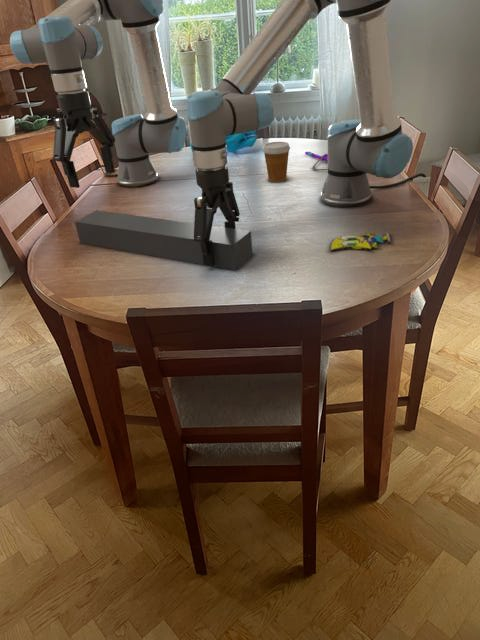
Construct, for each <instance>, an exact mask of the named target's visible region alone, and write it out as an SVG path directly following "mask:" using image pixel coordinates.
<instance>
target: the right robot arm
mask: <svg viewBox="0 0 480 640" xmlns="http://www.w3.org/2000/svg"><path fill="white" fill-rule="evenodd" d="M391 2H392V1H391V0H281V1H280V3H279V4H278V5H277V6H276V7H275V9H274V11H272V13H271V14H270V16H269V17H268V18H267V20H266V21H265V22H264V24H263V25H262V26H261V27H260V29H259V30H258V31H257V33H256V34H255V36H254V37H253V38H252V39H251V41H250V42H249V43H248V44H247V46H246V47H245V49H244V50H243V51H242V52H241V54H240V55H239V56H238V57H237V59H236V60H235V62H234V63H233V64H232V66H231V67H230V68H229V70H228V71H227V72H226V73H225V75H224V76H223V77H222V78H221V80H220V81H219V82H218V84H217V85H216V86H215V88H210V89H208V90H207V89H206V90H200V91H195V92H192V93H190V94H189V95H188V96H187V98H186V107H187V108H186V109H187V120H188V126H189V132H190V139H191V143H192V148H193V149H192V150H193V152H192V157H193V159H192V160H193V167H195V170H194V171H195V180H196V185H197V186H198V187H199V188H200V189H201V196H200V197H195V198H193V203H194V222H193V223H194V241H195V242H200V244H201V251H202V255H203V263H204V265H203V266H207V265H208V267H213V266H214V265H215V262H214V254H213V245H212V240H210V234H211V229H212V226H213V223H214V217H215V214H217V212H218V208H219V210H220V212H221V214H222V215H223V217H224V219H225V220H226V221H224V227H226V228H234V229H237V228H236V222H237V223H239V222H240V209H239V206H238V201H237V199H236V195H235V192H234V184H233V183H234V182H233V181H230V174H229V167H228V166H227V165H228V152H227V150H226V146H227V145H226V136H230V135H234V134H240V133H245V132H250V131H256V132H258V131H260V130H264V129H267V128H268V127H270V126H271V125H272V124H273V121H274V117H275V113H274V110H275V109H274V104H273V101H272V99H271V97H270V96H269V95H268V94H267V93H265V92H258V93H256V92H254V91H255V90H256V88H257V87H258V85H259V84H260V83H261V82H262V80H263V79H264V78H265V77H266V75H267V74H268V73H269V72H270V70H271V69H272V68H273V66H274V65H275V64H276V63H277V61H279V59H280V57H281V56H282V55H283V54H284V52H285V51H286V50H287V48H288V47H289V46H290V45H291V44H292V42H293V41H294V40H295V38H296V37H297V36H298V34H299V33H300V31H301V30H302V29H303V28H304V27H305V25H306V24H307V23H308V21H309V20H312V21H313V20H315V19H316V18H317V17H318V16H319V14H320V13H321V12H322V11H323V10H325V9H326V8H327V7H329V6H330V5H334V4H336V9H337V16H338V19H340V20H341V21H342V22H344V23H345V24H346V31H347V37H348V44H349V51H350V60H351V65H352V72H353V73H352V74H353V79H354V86H355V88H354V89H355V94H356V101H357V107H358V116H359V119H358V118H357V119H348V120H341V121H338V122H337V121H336V122H334V123H332V124H330V126H329V127H328V133H327V138H326V139H327V154H328V162H327V169H328V170H327V174H326V177H325V181H324V184H323V186H322V190H321V192H320V201H321V203H323V204H325V205H328V206H330V207H334V208H335V207H336V208H353V207H360V206H363V205H366V204H368V203H369V202H370V201H371V200H372V190H373V189H375V190H376V189H377V190H381V189H388V188H393V187H396V186H401V185H404V184H405V183H407V182H409V181H412V180H414V179H416V178H418V177H422V178H427V176H426V174H425V173H423V172H421V173H417V174H414V175H412V176H410V177H406V178H405V179H404V180H401V181H398V182H395V183H391V184H384V185H370V182H369V178H368V175H367V174H369V175H373V176H375V177H377V178H383V179H393V178H395V177H397V176H399V175H400V174H401V173H402V172H403V171H404V170H405V169H406V167H408V164H409V163H410V160H411V158H412V155H413V151H414V142H413V140H412V138H411V137H410V136H409V135H408V134H406V133H403V129H402V128H403V127H402V126H403V125H402V120H401V118H399V117H398V116H397V115H395V107H394V98H393V87H392V86H393V85H392V76H391V67H390V66H391V65H390V56H389V45H388V44H389V43H388V34H387V24H386V13H385V12H386V11H387V8H388V7H389V6H390V5H391ZM192 150H191V151H192ZM205 236H206V237H205Z"/></svg>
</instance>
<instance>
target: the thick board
mask: <svg viewBox="0 0 480 640" xmlns="http://www.w3.org/2000/svg"><path fill="white" fill-rule="evenodd" d="M74 225H75V229H76V232H77V236H78V239H79V243H80V244H81V245H88V246H93V247H100V248H106V249H110V250H111V249H112V250H115V251H116V250H117V251H122V252H128V253H133V254H138V255H145V256H150V257H157V258H161V259H169V260H174V261H179V262H185V263H189V264H190V263H191V264H197V265H202V266H205V265H204V263H203V255H202V251H201V244H200V242H195V241H194V222H188V221H180V220H173V219H166V218H158V217H151V216H150V217H149V216H144V215H143V216H142V215H136V214H127V213H119V212H111V211H107V210H105V211H104V210H98V209H97V210H94V211H92V212H90V213H88V214H86V215H85V216H82V217H81V218H78V219H76V220H74ZM205 237H206V236H205ZM210 240H212V245H213V254H214V262H215V265H214V266H212V268H219V269H224V270H231V271H237V270H238V269H239V268H241V266H243V264H244V263H246V262H247V261H248V260H249V259H250V258H251V257H253V243H252V240H253V239H252V230H249V229H241V228H236V229H234V228H226V227H225V226H218V225H212V229H211V234H210ZM206 266H208V265H206ZM208 267H209V266H208Z"/></svg>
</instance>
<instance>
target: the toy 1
mask: <svg viewBox="0 0 480 640" xmlns="http://www.w3.org/2000/svg"><path fill="white" fill-rule="evenodd" d="M256 132H257V131H250V132H245V133H240V134H234V135H230V136H226V152H230V153H231V154H232V153H233V154H235V153H236V152H237V151H239V150H242V149H245V148H253V146H254V145H255V143H256V142H257V140H258V134H255V133H256ZM189 146H190V149H191V152H192V153H193V150H192V149H193V148H192V142H190V143H189Z"/></svg>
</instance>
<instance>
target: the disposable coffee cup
mask: <svg viewBox="0 0 480 640" xmlns="http://www.w3.org/2000/svg"><path fill="white" fill-rule="evenodd" d="M290 149H291V146H290V144H289V142H286V141H272V142H266V143H265V144H263V148H262V151H263V153H264V159H265V165H266V171H267V178H268V182H272V183H273V182H274V183H278V182H279V183H280V182H283V181H286V180H287V174H288V165H289V155H290V154H289V153H290Z"/></svg>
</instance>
